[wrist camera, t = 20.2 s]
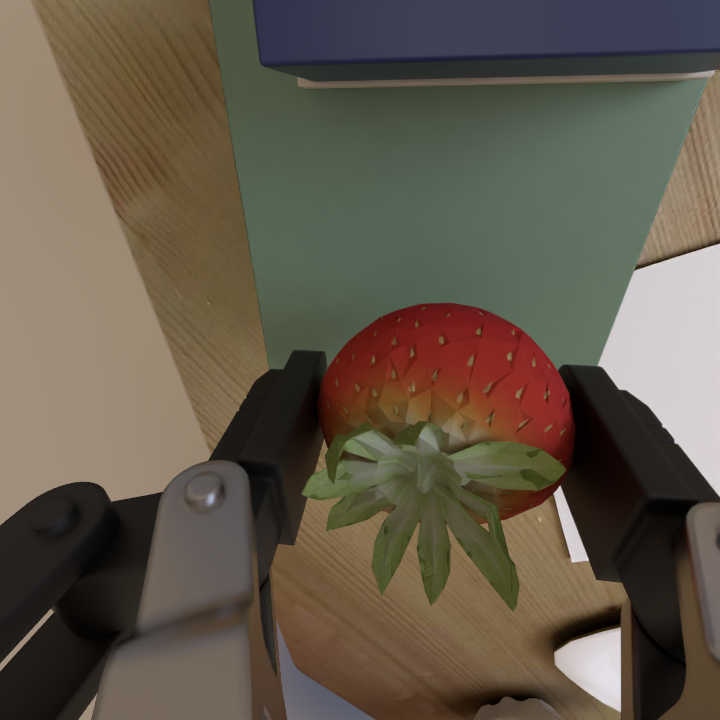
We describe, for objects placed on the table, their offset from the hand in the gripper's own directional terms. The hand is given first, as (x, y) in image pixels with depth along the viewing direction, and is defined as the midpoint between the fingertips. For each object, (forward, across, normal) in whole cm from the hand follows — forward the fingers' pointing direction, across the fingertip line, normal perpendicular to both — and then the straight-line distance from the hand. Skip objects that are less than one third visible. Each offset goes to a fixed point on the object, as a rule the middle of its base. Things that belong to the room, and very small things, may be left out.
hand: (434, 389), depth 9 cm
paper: (+13, -16, +12) cm, 24 cm away
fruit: (+4, 0, 0) cm, 4 cm away
